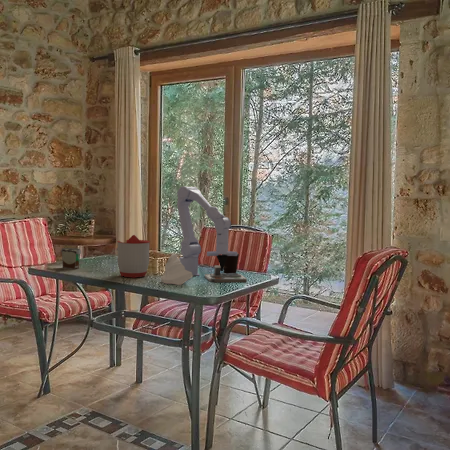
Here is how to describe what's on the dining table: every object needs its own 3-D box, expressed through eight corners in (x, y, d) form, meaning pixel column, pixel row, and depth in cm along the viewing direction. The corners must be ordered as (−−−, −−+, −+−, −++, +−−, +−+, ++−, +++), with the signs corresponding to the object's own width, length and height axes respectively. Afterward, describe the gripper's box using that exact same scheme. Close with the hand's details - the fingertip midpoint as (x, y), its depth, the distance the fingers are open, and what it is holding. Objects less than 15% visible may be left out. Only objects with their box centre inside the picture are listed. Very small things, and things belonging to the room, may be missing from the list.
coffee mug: (236, 274, 257) (237, 255, 256) (220, 273, 258) (220, 254, 258) (240, 271, 268) (241, 252, 267) (224, 270, 270) (225, 251, 269)
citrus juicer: (129, 271, 256) (129, 232, 254) (156, 275, 247) (156, 235, 245) (106, 275, 242) (107, 234, 241) (134, 280, 233) (135, 237, 232)
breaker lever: (213, 276, 240) (214, 266, 240) (212, 275, 243) (212, 265, 243) (222, 276, 241) (222, 266, 241) (220, 275, 244) (221, 265, 244)
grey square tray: (211, 282, 233) (211, 279, 233) (205, 276, 249) (205, 273, 249) (246, 282, 236) (246, 279, 236) (237, 276, 252) (237, 273, 252)
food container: (86, 268, 263) (86, 249, 262) (77, 269, 258) (77, 250, 257) (70, 265, 269) (70, 247, 269) (60, 267, 264) (61, 248, 264)
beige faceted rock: (167, 289, 221) (159, 258, 220) (161, 286, 236) (154, 256, 235) (194, 281, 225) (186, 250, 224) (187, 278, 239) (179, 249, 238)
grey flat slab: (209, 281, 236) (209, 276, 235) (204, 276, 247) (204, 272, 247) (246, 280, 239) (246, 276, 239) (240, 276, 251) (240, 272, 251)
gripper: (209, 243, 236) (208, 272, 237) (239, 243, 239) (238, 272, 240) (206, 242, 243) (205, 269, 244) (235, 242, 246) (234, 269, 247)
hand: (221, 270), depth 243 cm, fingers closed
